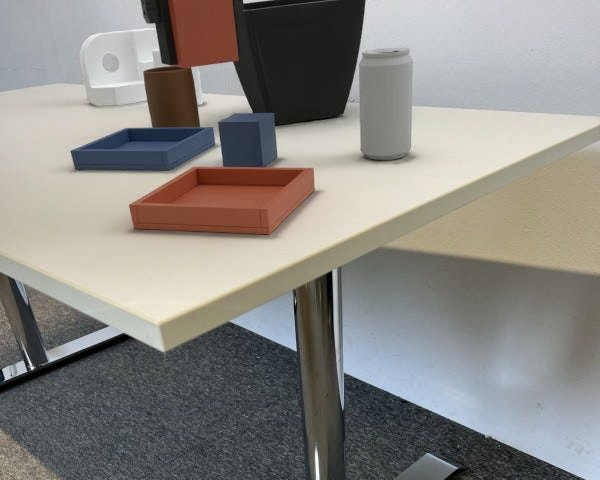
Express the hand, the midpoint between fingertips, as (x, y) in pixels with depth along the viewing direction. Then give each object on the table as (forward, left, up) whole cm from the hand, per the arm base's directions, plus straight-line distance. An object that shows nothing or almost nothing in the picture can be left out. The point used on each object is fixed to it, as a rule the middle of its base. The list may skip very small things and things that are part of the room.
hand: (201, 59), depth 62 cm
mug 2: (-35, +62, -14) cm, 72 cm away
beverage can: (+13, +23, -14) cm, 30 cm away
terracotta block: (0, 0, 0) cm, 0 cm away
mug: (-25, +38, -14) cm, 47 cm away
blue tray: (-21, +22, -14) cm, 33 cm away
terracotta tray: (+1, 0, -14) cm, 14 cm away
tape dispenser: (-52, +71, -14) cm, 89 cm away
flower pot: (-8, +50, -14) cm, 52 cm away
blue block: (-4, +19, -14) cm, 24 cm away
